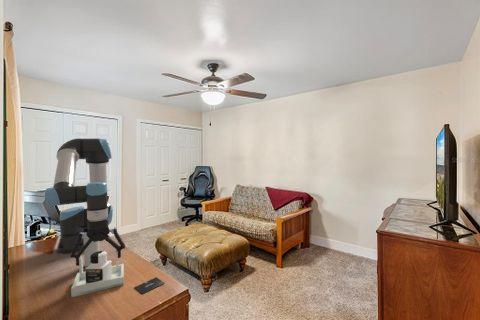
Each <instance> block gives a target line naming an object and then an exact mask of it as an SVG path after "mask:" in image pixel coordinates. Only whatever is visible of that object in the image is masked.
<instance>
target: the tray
mask: <svg viewBox="0 0 480 320" xmlns="http://www.w3.org/2000/svg"><path fill="white" fill-rule="evenodd" d="M124 285H125V264H124V263H120V264H119V263H118V267H116V264H115V265H112V276H111V277H110V278H109V279H106V280H102V281H97V282H92V283H88V284H86V272H85V271H84V270H83V272H82V274H80V271H79V272H77V274H76V276H75V278H74V281H73V282H72V285H71V288H70V293H71V294H70V295H71V296H70V297H71V298H75V297H79V296H83V295H88V294H92V293H96V292H99V291H104V290H109V289H113V288H116V287H117V288H118V287H120V286H121V287H122V286H124Z"/></svg>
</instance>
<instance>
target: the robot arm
mask: <svg viewBox="0 0 480 320" xmlns="http://www.w3.org/2000/svg"><path fill="white" fill-rule="evenodd" d="M112 158H113V157H112V152H111V146H110V141H109V140H108V139H106V138H73V139H70V140H67V141H65V143H63V144H61V145H60V146H59V148H58V150H57V152H56V160H57V165H56V170H55V176H54V179H53V180H54V181H53V186H52V187H48V188H46V189H45V191H44V202H45V205H47V206H49V207H51V206H53V207H55V206H64V205H73V204H80V203H81V204H82V203H86V207H87V208H85V207H84V206H82V205H81V206H74V207H70V208H66V209H64V210H63V211H61V212H59V229H60V230H59V232H60V234H59V238H60V239H59V241H58V243H57V246H56V247H57V248H56V252H57V253H60V254H68V253H70V255H69V257H70V259H73V258H74V259H75V265H76V267H79V272H80V274H82V272H84V266H83V265H84V264H83V263H84V262H83V259H84V258H83V254H84V251H85V249H86V248H87V247H88V246H89V244H90V243H91V242H92V241H93V242H97V241H99V242H102V241H106V242H107V243H108V244H109V245H111V246H112V247H113V248H114V249H115V265H116V267H118V265H119V259H120V258H121V257H122V252H121V251H122V250H124V249H126V244H125V242H124V241H123V239H122V237H121V236H120V234H119V232H118V228H117V227H113V228H109V225H110V224H111V223H112V222H113V214H114V213H113V211H114V207H113V205H111V203H110V201H108V182H107V181H108V180H107V178H108V177H107V164H109V162H110V160H111V159H112ZM79 160H85V163H86V164H88V170H89V171H88V172H89V182H88V183H87V184H86V185H75V183H76V182H75V181H76V168H77V162H78V161H79ZM85 227H88V232H87V233H84V231H83V228H85ZM110 233H111V234H112V235H114V237H115V239H116V240H117V243H116V241H115V240H113V238H111V237H110V236H109V234H110ZM85 236H87V237H88V238H89V240H88V241H87V242H86V244H85V245H84V237H85Z"/></svg>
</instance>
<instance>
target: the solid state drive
mask: <svg viewBox="0 0 480 320" xmlns="http://www.w3.org/2000/svg"><path fill="white" fill-rule="evenodd" d="M163 285H165V282H164V281H163V280H162V279H160V278H158V277H157V276H156V277H154V278H152V279H150V280H147V281H145V282H143V283H140V284H138V285H136V286H134V287H133V289H134V290H136V291H137V292H138V293H140V294H141V295H144V294H146V293H149V292H151V291H152V290H155V289H157V288H158V287H161V286H163Z"/></svg>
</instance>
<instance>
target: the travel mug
mask: <svg viewBox="0 0 480 320" xmlns="http://www.w3.org/2000/svg"><path fill="white" fill-rule="evenodd" d="M83 231H84V233H87V232H88V227H85V228H83ZM88 240H89V238H88V237H87V236H85V237H84V245H85V244H86V242H87V241H88ZM98 251H100V241H97V242H93V241H92V242H91V243H90V244H89V246H88V247H87V248H86V249H85V251H84V252H83V255H84V256H83V257H84V258H83V259H84V268H85V269H86V268H87V267H88V266H89V265H91V264H90V256H91V254H93V253H95V252H98Z"/></svg>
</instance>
